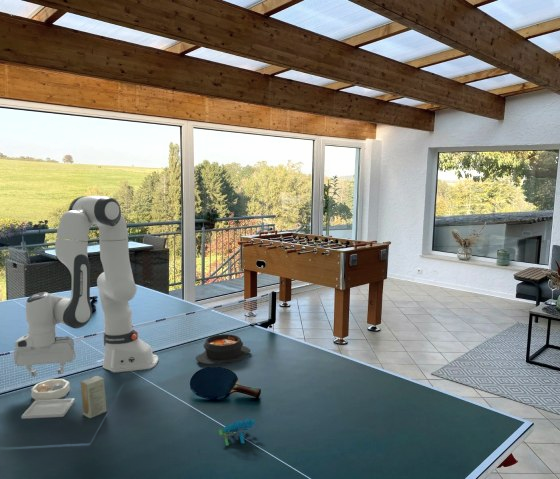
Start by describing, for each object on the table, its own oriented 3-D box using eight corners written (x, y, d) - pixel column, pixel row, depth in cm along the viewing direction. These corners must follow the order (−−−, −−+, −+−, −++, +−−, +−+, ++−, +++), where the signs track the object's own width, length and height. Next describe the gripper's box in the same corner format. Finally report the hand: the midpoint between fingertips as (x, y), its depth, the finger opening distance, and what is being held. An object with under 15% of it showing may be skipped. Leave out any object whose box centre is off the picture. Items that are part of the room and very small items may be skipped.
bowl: (73, 387, 184) (72, 378, 183) (62, 401, 172) (61, 392, 172) (41, 388, 183) (40, 379, 182) (27, 403, 171) (26, 393, 171)
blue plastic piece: (253, 423, 152) (255, 413, 144) (258, 443, 149) (260, 433, 141) (218, 433, 150) (218, 424, 142) (222, 453, 146) (222, 444, 138)
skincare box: (99, 409, 167) (97, 374, 165) (107, 412, 164) (104, 377, 162) (82, 416, 162) (79, 380, 160) (89, 420, 159) (86, 384, 157)
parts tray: (75, 402, 171) (74, 398, 171) (63, 418, 160) (63, 413, 160) (35, 404, 170) (35, 400, 170) (21, 420, 159) (21, 415, 159)
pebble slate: (62, 391, 180) (66, 385, 179) (57, 397, 176) (62, 391, 175) (53, 386, 179) (58, 379, 178) (48, 392, 175) (53, 385, 174)
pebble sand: (52, 387, 179) (45, 380, 178) (48, 392, 175) (42, 385, 174) (44, 392, 179) (37, 385, 178) (40, 398, 176) (33, 391, 175)
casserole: (233, 346, 227) (233, 328, 225) (259, 356, 213) (259, 338, 212) (187, 360, 210) (186, 341, 209) (212, 372, 196) (211, 352, 195)
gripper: (75, 333, 180) (79, 368, 182) (17, 337, 178) (22, 373, 180) (70, 339, 174) (74, 376, 176) (9, 343, 172) (14, 380, 174)
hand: (47, 374), depth 178 cm, fingers open, 8 cm apart
